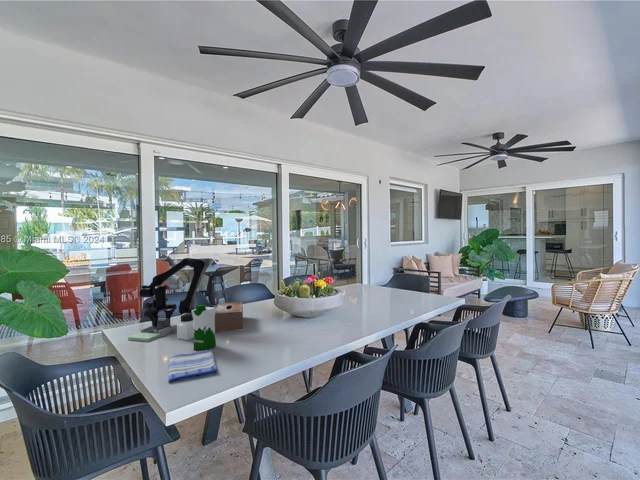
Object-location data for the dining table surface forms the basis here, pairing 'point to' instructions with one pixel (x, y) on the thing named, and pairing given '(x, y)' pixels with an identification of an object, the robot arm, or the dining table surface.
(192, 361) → the dish towel
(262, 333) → the dining table surface
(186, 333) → the medicine bottle
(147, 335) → the deck
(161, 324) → the gray cuboid pillar
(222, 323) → the tissue box cover
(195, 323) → the milk carton
